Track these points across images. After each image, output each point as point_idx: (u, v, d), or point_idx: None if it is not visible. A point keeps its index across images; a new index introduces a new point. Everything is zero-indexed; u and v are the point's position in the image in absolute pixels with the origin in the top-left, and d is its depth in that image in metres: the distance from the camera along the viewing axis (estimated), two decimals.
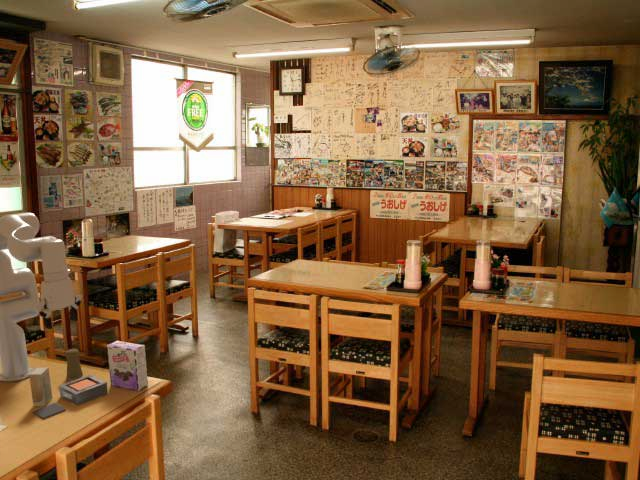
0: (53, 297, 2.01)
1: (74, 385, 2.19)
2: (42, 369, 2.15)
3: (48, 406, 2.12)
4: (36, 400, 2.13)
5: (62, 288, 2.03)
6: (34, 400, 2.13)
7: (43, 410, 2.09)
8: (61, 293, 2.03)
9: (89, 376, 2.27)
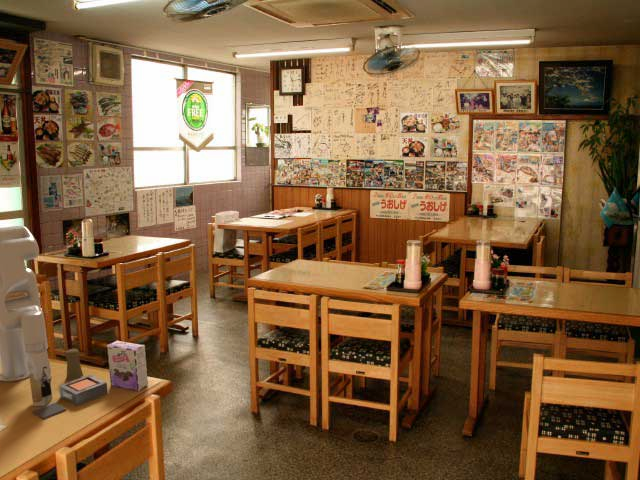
0: None
1: (74, 385, 2.19)
2: None
3: (48, 406, 2.12)
4: (36, 400, 2.13)
5: None
6: (34, 400, 2.13)
7: (43, 410, 2.09)
8: None
9: (89, 376, 2.27)
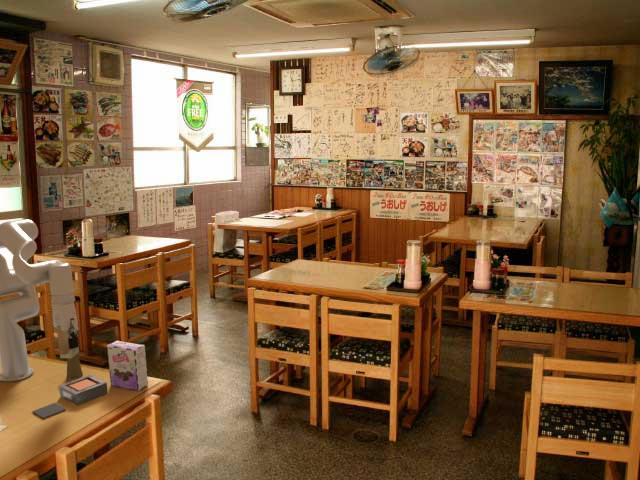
0: None
1: (74, 385, 2.19)
2: None
3: (48, 406, 2.12)
4: (63, 352, 2.13)
5: None
6: (61, 352, 2.13)
7: (43, 410, 2.09)
8: None
9: (89, 376, 2.27)
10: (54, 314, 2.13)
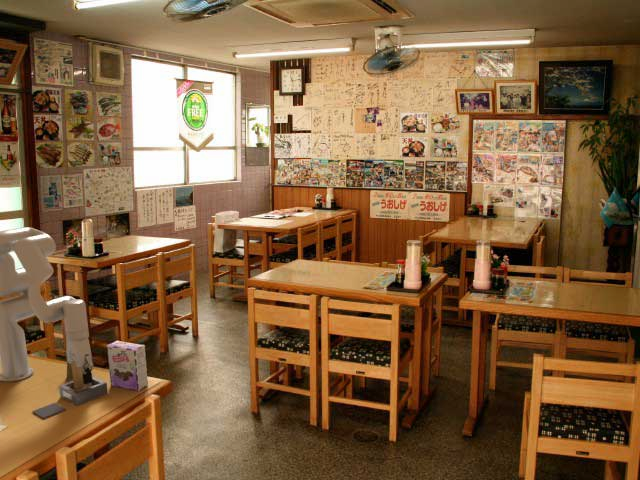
0: None
1: None
2: None
3: (48, 406, 2.12)
4: (77, 387, 2.17)
5: None
6: (75, 387, 2.17)
7: (43, 410, 2.09)
8: None
9: None
10: (68, 350, 2.17)
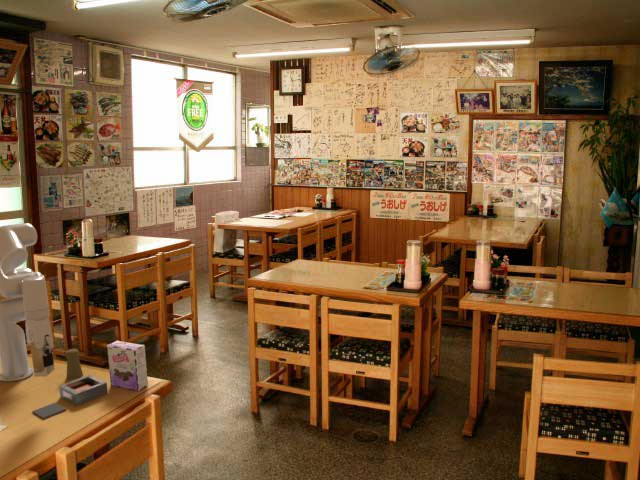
0: None
1: (75, 390, 2.20)
2: None
3: (48, 406, 2.12)
4: (37, 370, 2.03)
5: None
6: (35, 370, 2.03)
7: (43, 410, 2.09)
8: None
9: (89, 376, 2.27)
10: (28, 330, 2.03)
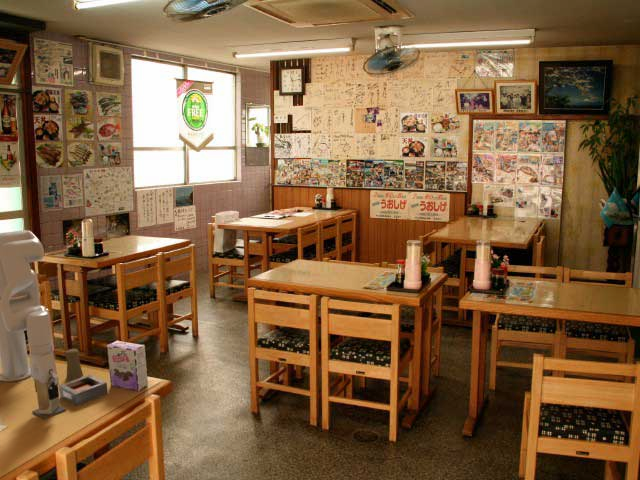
0: None
1: (75, 390, 2.20)
2: None
3: None
4: (42, 407, 2.06)
5: None
6: (40, 407, 2.06)
7: None
8: None
9: (89, 376, 2.27)
10: (32, 364, 2.05)
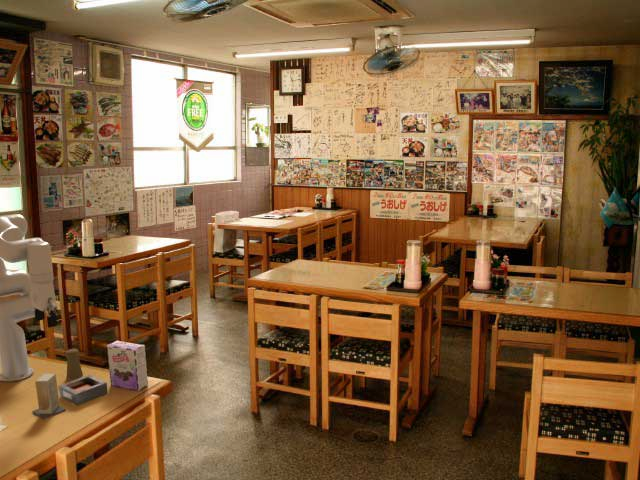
0: None
1: (75, 390, 2.20)
2: (49, 375, 2.07)
3: None
4: (42, 407, 2.06)
5: None
6: (40, 407, 2.06)
7: None
8: None
9: (89, 376, 2.27)
10: (32, 293, 2.11)
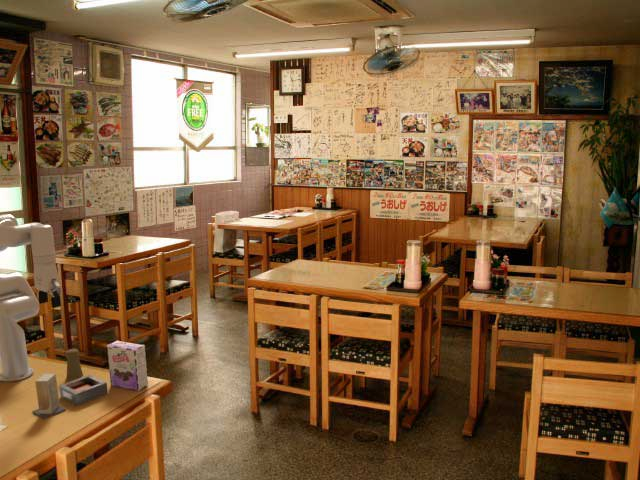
0: None
1: (75, 390, 2.20)
2: (49, 375, 2.07)
3: None
4: (42, 407, 2.06)
5: None
6: (40, 407, 2.06)
7: None
8: None
9: (89, 376, 2.27)
10: (36, 275, 2.17)
